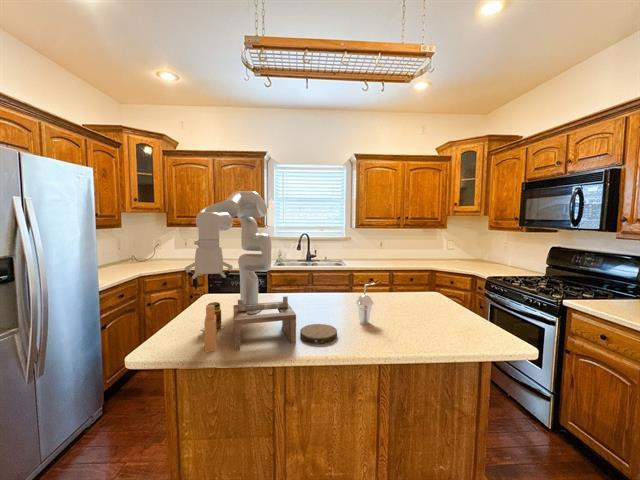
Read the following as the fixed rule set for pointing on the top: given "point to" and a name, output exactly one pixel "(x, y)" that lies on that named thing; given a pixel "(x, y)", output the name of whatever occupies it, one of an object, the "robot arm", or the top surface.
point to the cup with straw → (364, 306)
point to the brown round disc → (318, 334)
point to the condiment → (217, 316)
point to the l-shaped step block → (210, 328)
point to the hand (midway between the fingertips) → (209, 288)
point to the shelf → (265, 317)
